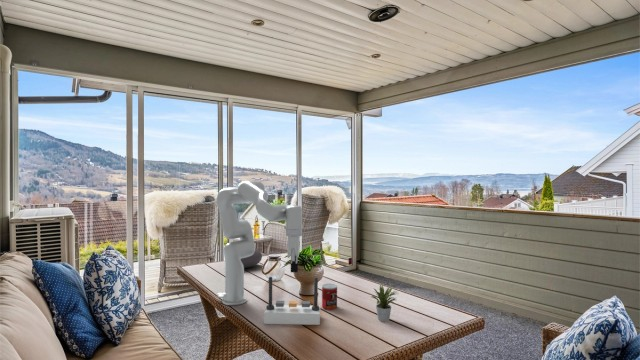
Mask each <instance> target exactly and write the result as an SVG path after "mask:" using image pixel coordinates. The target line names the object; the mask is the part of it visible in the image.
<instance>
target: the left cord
mask: <svg viewBox="0 0 640 360" xmlns="http://www.w3.org/2000/svg"><path fill="white" fill-rule="evenodd" d="M274 305H275V304H273V277H272V276H269V277H268V304H267V305H266V306H265V307H266V308H265V310H266V309H267V310H273V309H274Z"/></svg>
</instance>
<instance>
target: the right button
mask: <svg viewBox="0 0 640 360" xmlns="http://www.w3.org/2000/svg"><path fill="white" fill-rule="evenodd" d="M301 305H302V307H310V306H311V301H310V300H302V302H301Z"/></svg>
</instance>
